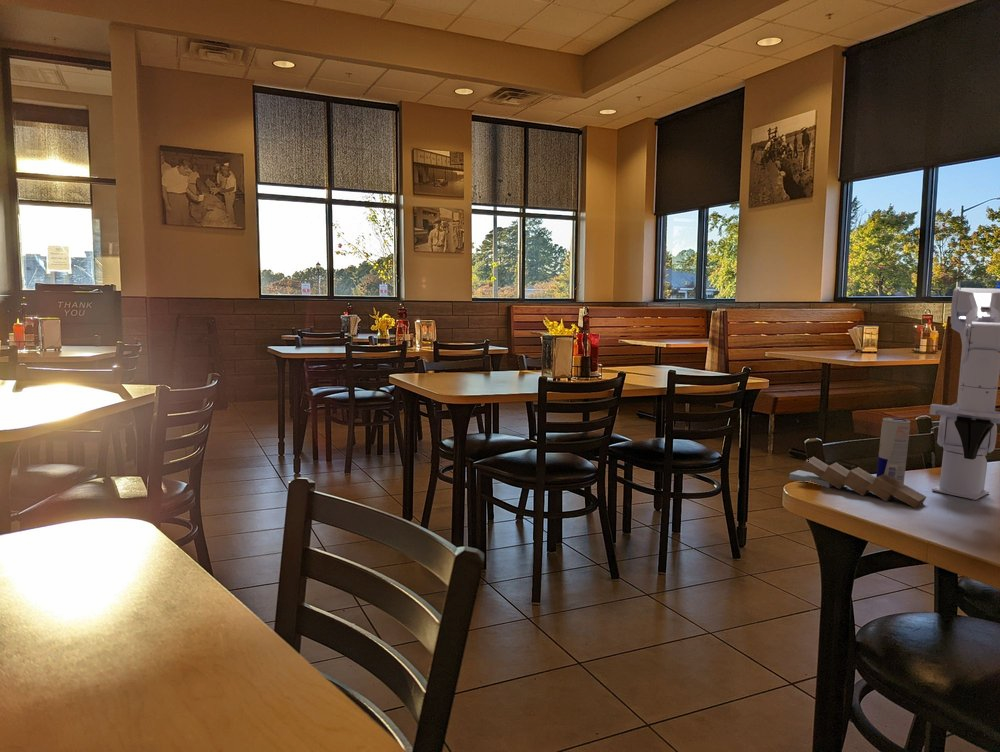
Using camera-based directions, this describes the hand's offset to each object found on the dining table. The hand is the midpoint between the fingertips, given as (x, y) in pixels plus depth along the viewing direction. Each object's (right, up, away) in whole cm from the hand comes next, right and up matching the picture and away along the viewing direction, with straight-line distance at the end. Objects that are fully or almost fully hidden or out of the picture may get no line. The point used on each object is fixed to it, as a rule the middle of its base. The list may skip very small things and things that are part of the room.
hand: (969, 458), depth 130 cm
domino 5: (-7, -9, +4) cm, 12 cm away
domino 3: (-13, -8, +11) cm, 19 cm away
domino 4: (-10, -8, +8) cm, 15 cm away
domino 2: (-16, -7, +15) cm, 23 cm away
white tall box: (-6, -9, +16) cm, 19 cm away
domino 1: (-18, -7, +17) cm, 25 cm away
